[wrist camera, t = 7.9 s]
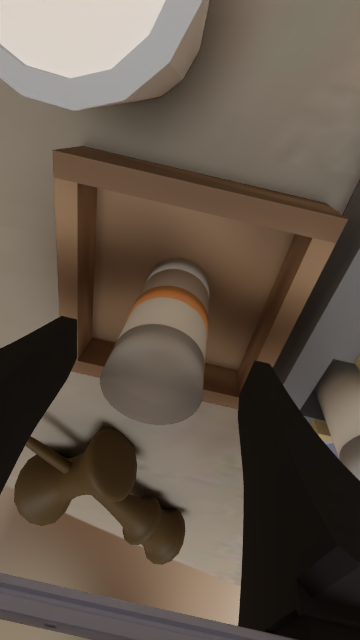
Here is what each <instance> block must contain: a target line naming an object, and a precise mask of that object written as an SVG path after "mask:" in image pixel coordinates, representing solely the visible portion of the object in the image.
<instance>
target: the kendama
mask: <svg viewBox="0 0 360 640" xmlns="http://www.w3.org/2000/svg"><path fill="white" fill-rule="evenodd" d="M26 446H27V447H28V448H30V449H31V450H32V451H33V452H35V453H36V454H37V455H35V456H34V457H32V458H31V459H29V460H28V461H27V463H26V464H25V465H24V467H23V468H22V469H21V471H20V473H19V476H18V479H17V481H16V484H15V494H14V502H15V504H16V506H17V509H18V511H19V513H20V514H21V515H22V516H23V517H24V518H25V519H26V520H27V521H28V522H29V523H33V524H36V525H40V526H44V525H48V524H52V523H55V522H56V521H57V520H58V519H59V518H60V517H61V516H62V515H63V514H64V513H65V512H66V510H67V508H68V506H69V504H70V502H71V500H72V499H74V498H75V497H77V496H81V495H92V496H93V497H94V498H95V499H96V500H97V501H99V502H100V503H101V504H102V505H103V506H104V507H105V508H106V509H107V510H108V511H109V512H110V513H111V514H112V515H113V516H114V517H115V518H116V519H117V521H118V522H119V523H120V524H121V525H122V527H123V535H124V539H125V540H126V541H127V542H128V543H129V544H131V545H140V544H141V545H143V546H144V550H145V553H146V557H147V559H149V560H150V561H151V562H152V563H154V564H162V565H163V564H165V563H167V562H170V561H171V560H172V559H173V558H174V557H175V556H176V555H177V554H178V553H179V551H180V549H181V547H182V545H183V541H184V536H185V521H184V519H183V516H182V514H181V513H180V512H179V511H177V510H176V509H164V510H162V509H161V508H160V505H159V502H158V500H157V499H156V498H154V497H152V496H145V497H142V498H139V497H135V496H133V495H130V494H129V493H130V492H131V491H132V488H133V485H134V482H135V479H136V471H137V461H136V454H135V451H134V449H133V447H132V445H131V443H130V441H129V440H128V439H127V438H126V437H125V436H124V435H123V434H121V433H120V432H119V431H117V430H116V429H110V428H104V429H102V430H101V431H100V432H98V433H97V434H96V435H95V436H94V437H93V438H92V440H91V442H90V443H89V445H88V447H87V449H86V450H85V452H83V453H82V454H80V455H78V456H75V457H73V458H65V457H63V456H61V455H60V454H58V453H57V452H55V451H54V450H52V449H51V448H49V447H47V446H46V445H44V444H43V443H41V442H40V441H38V440H36V439H35V438H33V437H31V436H30V437H29V439H28V441H27V443H26Z"/></svg>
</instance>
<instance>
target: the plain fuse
mask: <svg viewBox="0 0 360 640" xmlns="http://www.w3.org/2000/svg"><path fill="white" fill-rule="evenodd" d="M314 389H315V392H316V395H317V398H318V401H319V403H320V406H321V409H322V412H323V415H324V417H325V420H326V423H327V426H328V429H329V431H330V434H331V437H332V440H333V443H334V445H335V448H336V451H337V454H338V457H339V459H340V461H341V462H342V463H343V464H344V465H345V466H346V467H347V468H348V469H349V470H350V471H351V472H352V473H353V474H354V475H355V477H356V478H357V479H358V480H359V481H360V371H359V369H358V367H357V366H356V364H353V363H349V362H345V361H340V360H336V359H333V360H332V362H331V363H330V365H329V366H328V368H327V369H326V371H325V372H324V374H323V375H322V377H321V379H320V380H319V382H318V383H317V385H316V386H315V388H314Z"/></svg>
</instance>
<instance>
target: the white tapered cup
mask: <svg viewBox="0 0 360 640" xmlns="http://www.w3.org/2000/svg"><path fill="white" fill-rule="evenodd" d="M208 6H209V0H0V78H1V79H2V80H3V81H5V82H6V83H7V84H9V85H10V86H11V87H12V88H14V89H15V90H16V91H17V92H19V93H20V94H21V95H22V96H25V97H29V98H32V99H36V100H39V101H42V102H46V103H49V104H53V105H56V106H59V107H63V108H66V109H70V110H73V111H77V110H83V109H90V108H97V107H103V106H110V105H116V104H123V103H129V102H136V101H141V100H146V99H151V98H156V97H161V96H162V95H164V94H165V93H166V92H168V91H169V90H170V89H171V88H173V87H174V86H175V85H176V84H178V83H179V82H180V81H181V80H183V78H184V77H185V75H186V73H187V71H188V70H189V68H190V66H191V64H192V63H193V61H194V59H195V57H196V56H197V54H198V52H199V50H200V45H201V41H202V36H203V31H204V26H205V22H206V17H207V12H208Z"/></svg>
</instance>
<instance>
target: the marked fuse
mask: <svg viewBox="0 0 360 640" xmlns="http://www.w3.org/2000/svg"><path fill="white" fill-rule="evenodd" d="M209 296H210V283H209V279H208V277H207V275H206V273H205V272H204V270H203V269H202V268H201V267H200V266H199V265H197V264H196V263H194V262H192V261H190V260H187V259H183V258H171V259H167V260H164V261H162V262H160V263H159V264H158V265H156V266H155V267H154V269H153V270H152V271H151V273H150V275H149V277H148V279H147V281H146V283H145V285H144V287H143V289H142V291H141V293H140V295H139V297H138V299H137V300H136V301H135V303H134V305H133V307H132V309H131V311H130V313H129V315H128V318H127V321H126V324H125V326H124V328H123V330H122V332H121V334H120V336H119V338H118V340H117V342H116V344H115V346H114V348H113V350H112V352H111V354H110V356H109V358H108V360H107V362H106V364H105V366H104V368H103V371H102V373H101V378H100V384H101V389H102V392H103V394H104V396H105V398H106V399H107V401H108V402H109V403H110V404H111V405H112V406H113V407H114V408H115V409H116V410H117V411H119V412H120V413H122V414H123V415H125V416H127V417H129V418H131V419H134V420H136V421H139V422H143V423H148V424H155V425H165V424H172V423H177V422H180V421H182V420H185V419H187V418H188V417H190V416H191V415H193V414H194V413H195V412H196V411H197V409H198V408H199V406H200V404H201V401H202V396H203V382H204V367H205V353H206V343H207V339H208V325H209V318H208V310H209Z"/></svg>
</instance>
